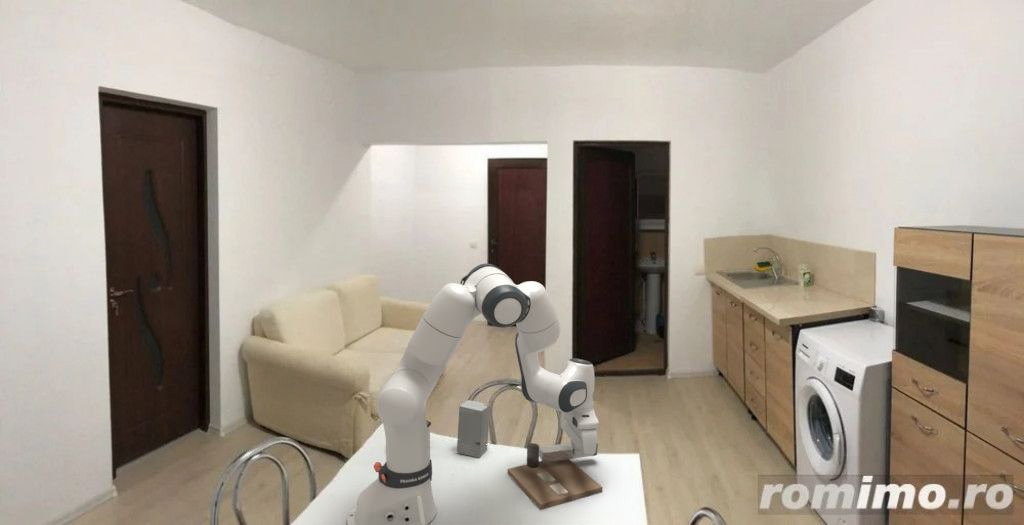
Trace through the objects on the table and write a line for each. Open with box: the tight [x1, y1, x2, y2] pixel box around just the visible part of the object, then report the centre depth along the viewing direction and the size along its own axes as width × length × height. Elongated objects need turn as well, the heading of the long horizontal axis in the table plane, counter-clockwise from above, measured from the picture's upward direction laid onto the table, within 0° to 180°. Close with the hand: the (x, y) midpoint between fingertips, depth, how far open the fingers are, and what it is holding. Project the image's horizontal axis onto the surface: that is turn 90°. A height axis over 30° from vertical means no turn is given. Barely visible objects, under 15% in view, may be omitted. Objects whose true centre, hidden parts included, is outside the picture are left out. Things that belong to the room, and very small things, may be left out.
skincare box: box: [456, 399, 491, 459], centre depth 173 cm, size 8×7×16 cm
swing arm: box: [539, 442, 599, 462], centre depth 166 cm, size 18×4×3 cm, turn 106°
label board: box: [507, 443, 603, 511], centre depth 156 cm, size 20×21×8 cm
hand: (576, 455), depth 163 cm, fingers closed
